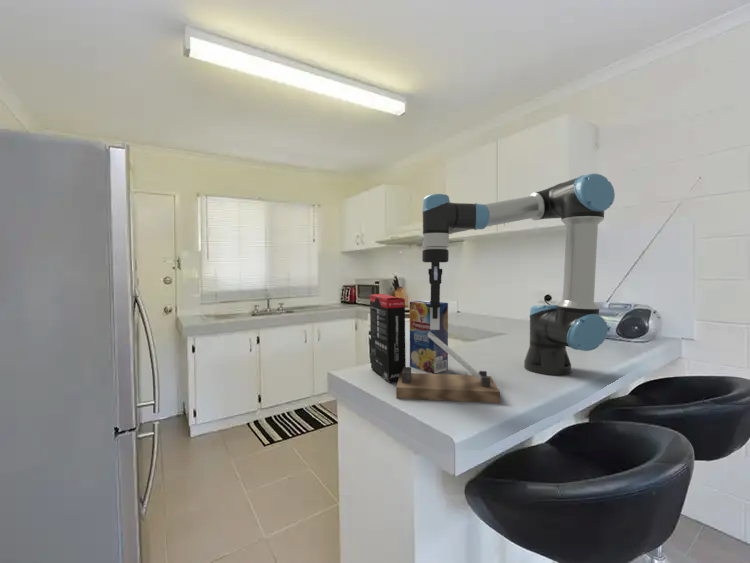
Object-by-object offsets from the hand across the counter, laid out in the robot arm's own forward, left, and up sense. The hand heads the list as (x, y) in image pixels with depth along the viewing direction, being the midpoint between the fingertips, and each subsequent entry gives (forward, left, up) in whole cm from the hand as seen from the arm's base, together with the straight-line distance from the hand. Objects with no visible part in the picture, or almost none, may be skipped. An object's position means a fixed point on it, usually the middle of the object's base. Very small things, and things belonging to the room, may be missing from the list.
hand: (434, 329), depth 104 cm
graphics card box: (+16, -14, -19) cm, 28 cm away
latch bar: (-6, 0, -9) cm, 11 cm away
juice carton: (+2, -24, -19) cm, 30 cm away
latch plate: (-3, 0, -18) cm, 19 cm away
